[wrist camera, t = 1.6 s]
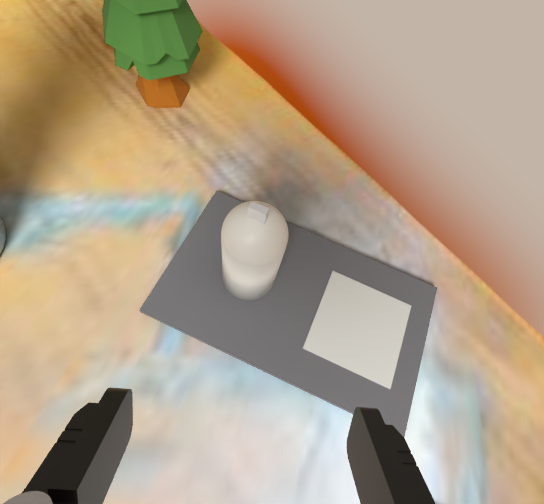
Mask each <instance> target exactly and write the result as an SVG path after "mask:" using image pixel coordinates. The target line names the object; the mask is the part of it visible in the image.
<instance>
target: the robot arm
mask: <svg viewBox="0 0 544 504" xmlns="http://www.w3.org/2000/svg"><path fill="white" fill-rule="evenodd" d="M5 239H6V229H5V226H4V222H3V220H2V219H1V217H0V253H1V251H2V249H3V247H4V243H5ZM132 425H133V408H132V390H131V389H121V388H108V389H107V390H106V392H105V393H104V395H103V397H102V398H101V400H100V402H99V403H88V404H86V405H85V406H84V407H83V408H81V409H80V410H79V411H78V412H77V413H75V414H74V416H73V417H72V419H71V420H70V422H69V423H68V425H67V426H66V428H65V431H63V432H62V434H61V435H60V437H59V438H58V440H57V443H55V444H54V446H53V447H52V449H51V450H50V452H49V453H48V455H47V456H46V458H45V459H44V461H43V462H42V464H41V465H40V467H39V469H38V470H37V472H36V473H35V475H34V476H33V478H32V479H31V481H30V482H29V484H28V485H27V487H26V488H25V489H24V491H23V492H22V493H21V494H19V495H17V496H15V497H13V498H11V499H9V500H8V501H6V502H5V503H4V504H103V501H104V499H105V496H106V494H107V492H108V489H109V487H110V485H111V482H112V480H113V478H114V475H115V473H116V471H117V468H118V466H119V464H120V461H121V459H122V457H123V454H124V452H125V449H126V447H127V445H128V442H129V439H130V436H131V432H132ZM347 454H348V459H349V463H350V467H351V470H352V474H353V478H354V481H355V485H356V489H357V492H358V496H359V499H360V503H361V504H435V502H434V500H433V498H432V495H431V493H430V491H429V489H428V487H427V485H426V483H425V481H424V479H423V477H422V474H421V472H420V470H419V468H418V466H416V462H415V460H414V458H413V455H412V454H411V451H410V449H409V447H408V445H407V443H406V441H405V439H404V437H403V436H402V435H401V434H400V433H399V431H398V430H397V429H396V428H395V427H394V426H393V425H386V424H385V423H384V420H383V418H382V416H381V413H380V411H379V410H378V409H377V408H368V407H356V408H355V410H354V414H353V418H352V422H351V426H350V430H349V434H348V438H347Z"/></svg>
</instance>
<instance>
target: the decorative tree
mask: <svg viewBox="0 0 544 504" xmlns="http://www.w3.org/2000/svg"><path fill="white" fill-rule="evenodd" d="M102 12H103V25H104V38H105V43H106V44H108V45H110V46H112V47H114V52H115V65H116V66H118V67H120V68H123V69H125V70H127V71H128V70H129V69H130V68H131V67H132V66H134V64H135V67H136V69H137V71H138V73H139V75H138V79H137V82H136V86H137V88H138V89H139V91H140V93H141V95H142V97H143V99H144V100H145V102H146V104H147V106H151V107H156V108H172V107H181V106H182V104H183V102H184V100H185V98H186V96H187V94H188V92H189V89H190V87H189V86H188V85H187V84H186V83H185V82H184V81H183V80H182V79H181V78H180V77H179V76H177V75H179V74H183V73H188V72H189V70H190V68H191V66H192V64H193V62H194V60H195V58H196V56H197V54H198V52H199V50H200V48H199V46H198V43H197V41H198V39H199V37H200V35H201V33H202V29H201V27H200V25H199V23H198V21H197V20H196V18H195V16H194V14H193V12H192V10H191V8H190V6H189V4H188V3H187V1H186V0H104V5H103V10H102Z"/></svg>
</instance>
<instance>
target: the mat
mask: <svg viewBox="0 0 544 504" xmlns="http://www.w3.org/2000/svg"><path fill="white" fill-rule="evenodd" d="M241 203H244V202H241V201H239V200H237V199H234V198H232V197H230V196H228V195H225V194H223V193H221V192H219V191H216V192H215V194H214V195H213V197H212V199H211V200H210V202H209V203H208V205H207V206H206V208H205V209H204V211H203V213H202V214H201V216H200V217H199V219H198V220H197V222H196V223H195V225H194V226H193V228H192V230H191V231H190V233H189V234H188V236H187V237H186V239H185V240H184V242H183V243H182V245H181V247H180V248H179V250H178V251H177V253H176V254H175V256H174V257H173V259H172V260H171V262H170V264H169V265H168V267H167V268H166V270H165V271H164V273H163V274H162V276H161V278H160V279H159V281H158V282H157V284H156V285H155V287H154V288H153V290H152V291H151V293H150V295H149V296H148V298H147V299H146V301H145V302H144V304H143V305H142V307H141V308H140V310H139V311H140V312H141V313H144V314H146V315H148V316H150V317H152V318H154V319H156V320H158V321H160V322H162V323H164V324H166V325H169V326H171V327H173V328H175V329H177V330H179V331H181V332H183V333H185V334H187V335H189V336H191V337H194V338H196V339H198V340H200V341H202V342H204V343H206V344H208V345H210V346H212V347H214V348H216V349H219V350H221V351H223V352H225V353H227V354H229V355H231V356H233V357H235V358H237V359H239V360H241V361H244V362H246V363H248V364H250V365H252V366H254V367H256V368H258V369H260V370H262V371H264V372H266V373H269V374H271V375H273V376H275V377H277V378H279V379H281V380H283V381H285V382H287V383H289V384H291V385H294V386H296V387H298V388H300V389H302V390H304V391H306V392H308V393H310V394H312V395H314V396H316V397H319V398H321V399H323V400H325V401H327V402H329V403H331V404H333V405H335V406H337V407H339V408H341V409H344V410H346V411H348V412H350V413H352V414H354V410H355V408H356V407H368V408H377V409H378V410H379V411H380V413H381V416H382V418H383V420H384V423H385V424H386V425H393V426H394V427H395V428H396V429H397V430H398V431H399V433H400V434H401V435H402V436H403V437H404V435H405V431H406V426H407V422H408V417H409V413H410V408H411V404H412V399H413V395H414V390H415V386H416V381H417V376H418V372H419V367H420V363H421V358H422V354H423V349H424V345H425V340H426V336H427V331H428V327H429V322H430V317H431V313H432V308H433V304H434V299H435V295H436V290H437V287H434V286H432V285H430V284H428V283H425V282H423V281H421V280H419V279H416V278H414V277H412V276H409V275H407V274H405V273H403V272H400V271H398V270H396V269H394V268H391V267H389V266H387V265H384V264H382V263H380V262H378V261H375V260H373V259H371V258H369V257H366V256H364V255H362V254H359V253H357V252H355V251H353V250H350V249H348V248H346V247H344V246H341V245H339V244H337V243H334V242H332V241H330V240H328V239H325V238H323V237H321V236H319V235H316V234H314V233H312V232H309V231H307V230H305V229H303V228H300V227H298V226H296V225H294V224H291V223H289V222H287V221H286V223H287V226H288V234H289V236H288V243H287V246H286V249H285V252H284V255H283V258H282V261H281V264H280V266H279V269H278V272H277V275H276V278H275V281H274V284H273V286H272V288H271V290H270V291H269V292H268V293H267V294H266V295H265V296H263V297H262V298H259V299H257V300H251V301H247V300H241V299H239V298H236V297H235V296H233V295H232V294H231V293H230V292H229V291H228V290H227V289H226V287H225V285H224V282H223V272H222V247H221V229H222V225H223V222H224V220H225V218H226V216H227V215H228V213H229V212H230V211H231V210H232V209H233V208H234V207H236V206H238V205H239V204H241Z"/></svg>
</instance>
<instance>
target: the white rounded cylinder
mask: <svg viewBox="0 0 544 504" xmlns="http://www.w3.org/2000/svg"><path fill="white" fill-rule="evenodd" d="M288 236H289V234H288V226H287V223H286V221H285V219H284V217H283V215H282V214H281V213H280V212H279V211H278V210H277V209H276V208H275V207H274V206H272V205H270V204H268V203H265V202H262V201H248V202H244V203H241V204H239V205H238V206H236V207H234V208H233V209H232V210H231V211H230V212H229V213H228V215H227V216H226V218H225V220H224V222H223V225H222V229H221V247H222V272H223V282H224V285H225V287H226V289H227V290H228V291H229V292H230V293H231V294H232V295H233V296H235V297H236V298H239V299H241V300H247V301H251V300H257V299H259V298H262V297H263V296H265V295H266V294H267V293H268V292H269V291H270V290H271V288H272V286H273V284H274V281H275V278H276V275H277V272H278V269H279V266H280V264H281V261H282V258H283V255H284V252H285V249H286V246H287V243H288Z"/></svg>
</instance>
